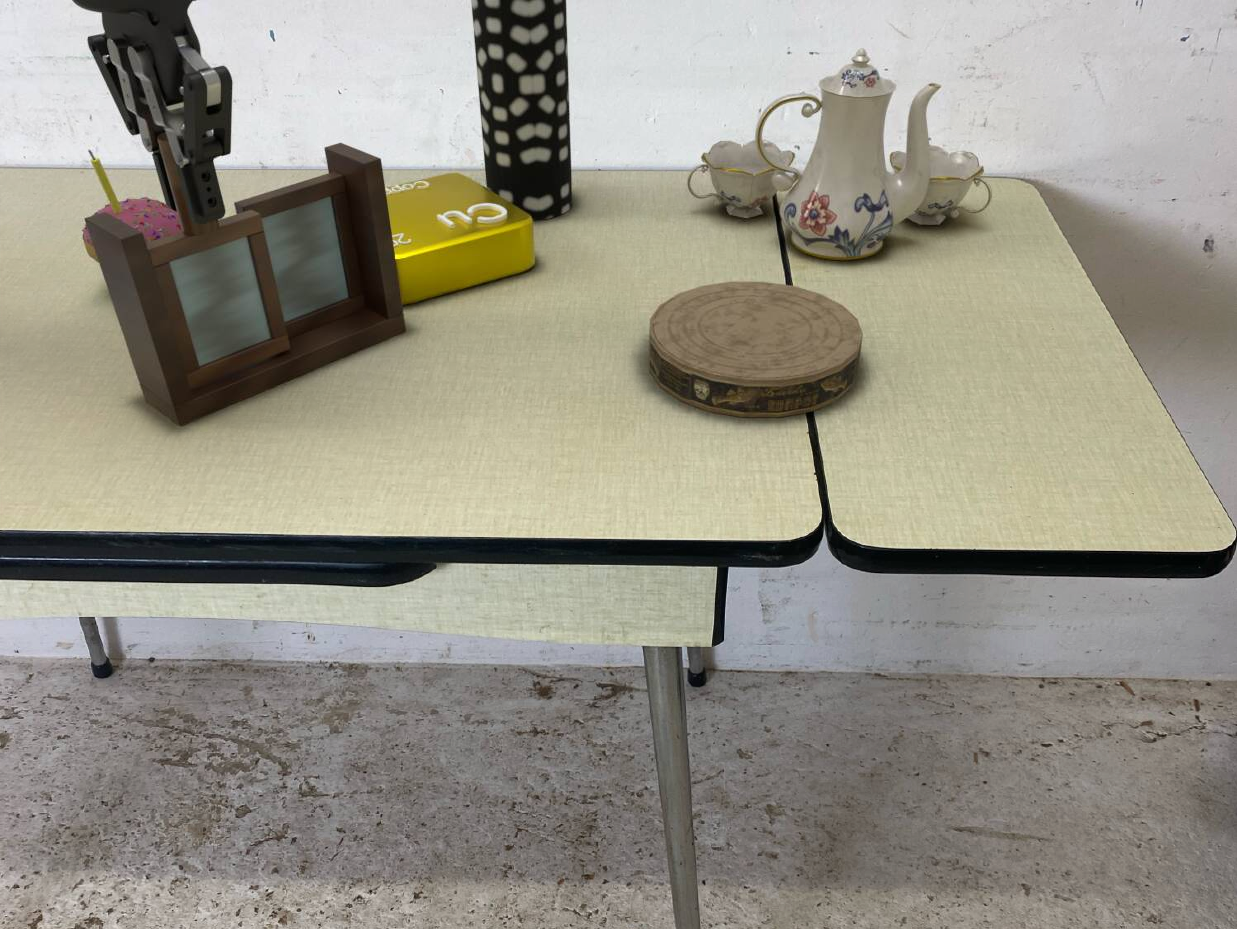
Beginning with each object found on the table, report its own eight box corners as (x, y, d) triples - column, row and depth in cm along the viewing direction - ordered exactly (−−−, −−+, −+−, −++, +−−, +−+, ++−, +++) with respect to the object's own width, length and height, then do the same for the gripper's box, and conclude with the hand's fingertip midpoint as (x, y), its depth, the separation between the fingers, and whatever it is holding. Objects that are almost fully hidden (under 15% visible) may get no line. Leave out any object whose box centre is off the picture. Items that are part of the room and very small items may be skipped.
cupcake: (155, 315, 89) (109, 166, 81) (78, 297, 92) (26, 150, 84) (224, 275, 95) (188, 132, 87) (150, 258, 98) (108, 118, 90)
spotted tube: (543, 227, 103) (532, -12, 89) (471, 210, 106) (449, -23, 92) (587, 198, 108) (583, -31, 95) (517, 183, 111) (503, -41, 98)
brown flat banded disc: (700, 301, 91) (701, 266, 89) (883, 341, 85) (890, 306, 83) (611, 386, 80) (611, 349, 78) (815, 439, 75) (820, 400, 73)
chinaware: (963, 213, 109) (996, 26, 99) (1008, 267, 95) (1052, 56, 86) (684, 212, 109) (690, 26, 100) (690, 265, 96) (697, 56, 86)
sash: (194, 393, 76) (123, 156, 66) (176, 381, 78) (104, 147, 67) (295, 351, 81) (245, 123, 70) (277, 341, 82) (225, 115, 71)
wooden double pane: (179, 426, 76) (120, 239, 67) (145, 401, 79) (83, 217, 70) (406, 330, 87) (381, 158, 78) (369, 311, 90) (340, 142, 81)
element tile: (463, 214, 105) (458, 163, 102) (544, 267, 96) (541, 213, 93) (318, 250, 99) (308, 197, 96) (389, 311, 90) (381, 255, 86)
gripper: (-5, -102, 62) (94, 202, 73) (111, -70, 55) (201, 261, 66) (119, -117, 66) (194, 173, 77) (242, -90, 59) (305, 226, 70)
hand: (197, 212), depth 72 cm, fingers closed on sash, 2 cm apart
